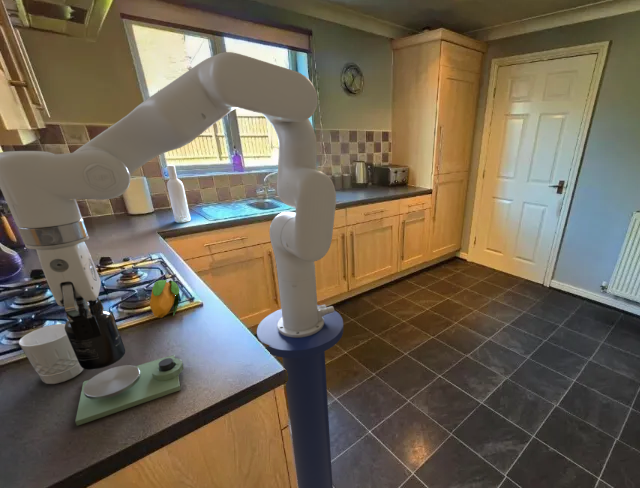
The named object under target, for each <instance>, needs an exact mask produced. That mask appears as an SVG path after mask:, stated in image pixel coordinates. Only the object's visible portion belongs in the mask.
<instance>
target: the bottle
mask: <svg viewBox="0 0 640 488" xmlns="http://www.w3.org/2000/svg"><path fill="white" fill-rule="evenodd" d="M166 170H167V173H168V178H169V179H168V181H167V182H166V188H167V189H166V190H167V193H168V196H169V201H170V206H171V209H172V214H173V219H174V222H175V223H182V224H183V223H188V222H190V221H191V220H192V219H191V214H190V210H189V205H188V199H187V196H186V190H185V186H184V184H183V181H181V179H179V177H178V174H177V169H176V166H175V165H174V164H167V165H166Z"/></svg>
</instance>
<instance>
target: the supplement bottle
mask: <svg viewBox="0 0 640 488" xmlns="http://www.w3.org/2000/svg"><path fill="white" fill-rule="evenodd" d="M98 298H99V297H98ZM98 298H97V299H96V300H95V301H92V300H89V301H88V302H89V306H90V310H91V314H92V315H95V318H96V320H97V323H98V326H99V328H100V331H101V336H99V337H96V338H92V339H87V340H83V341H77V339H76V337H75V335H74V332H73V330H72V327H71V325H70V323H69V320H68V316H67V312H66V311H65V310H64V311H65V316H66V318H67V321H66V322H65V323H64V324H65V327H64V329H65V332H66V334H67V337H68V339H69V341H70V344H71V346H72V348H73V351H74V353H75V355H76V358H77V360H78V362H79V364H80V366H81V367H82V368H84V369H83V370H89V371H94V370H100V369H104V368H107V367H110V366H112V365H113V364H115V363H117V362H118V361H120V360H122V358H123V357H124V356H125V355H126V348H125V344H124V343H123V342H124V341H123V339H122V337H121V333H120V329H119V328H118V325H117V322H116V319H115V317H114V314H112V312H110V311H108V310H105V309H104V306H103V304H102V301H101V300H100V298H99V299H98ZM82 300H83V299H81V300H78V301H82ZM78 307H79V308H82V309H83V310H84V311H85V309H84V305H83V304H82V305H78Z"/></svg>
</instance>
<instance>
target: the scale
mask: <svg viewBox="0 0 640 488" xmlns="http://www.w3.org/2000/svg"><path fill="white" fill-rule="evenodd" d="M167 358H171V359H173V362H174V365H175V366H174V368H173V369H171V370H169V371H166V372H162V371H160V368H159V362H160V361H162V360H163V359H167ZM134 366H135V367H137V368H138V369H139V370H140V373H141V376H140V379H139V380H138V382H137V383H136V384H135V385H134V386H132V387H131V388H130V389H128V390H126V391H125V392H123V393H121V394H118V395H116V396H113V397H110V398H106V399H100V400H93V399H89V398H87V397H86V396H85V395H84V392H83V388H84V386H85V384H86V383H87V382H88V381H89V380H90V379H88V380H84V381H83V383H82V387H81V392H80V396H79V402H78V407H77V412H76V417H75V420H74V421H75V424H76V426H81V425H84V424H87V423H90V422H92V421H96V420H98V419H102V418H105V417H107V416H110V415H113V414H116V413H118V412H121V411H124V410H127V409H130V408H133V407H135V406H138V405H142V404H144V403H147V402H150V401H153V400H156V399H159V398H162V397H164V396H168V395H170V394H173V393H176V392H178V391H181V390H182V389H181V382H180V378H179V375H180V374H181V373H182V372H183V371H184V363H183V360H182V359H180V358H177V357H176V355H175V354H172V355H169V356H165V357H162V358H158V359H155V360H151V361H147V362H145V363H141V364H139V365H134Z"/></svg>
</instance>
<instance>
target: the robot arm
mask: <svg viewBox="0 0 640 488" xmlns="http://www.w3.org/2000/svg"><path fill="white" fill-rule="evenodd" d="M318 99H319V98H318V92H317V89H316V88H315V85H314V84H313V83H312V81H311V80H310V79H309V78H308V77H307V76H305V75H304V74H302V73H301V72H299V71H296V70H293V69H290V68H287V67H283V66H280V65H278V64H277V65H276V64H273V63H270V62H267V61H264V60H261V59H257V58H255V57H252V56H248V55H245V54H241V53H237V52H233V51H224V52H220V53H217V54H214V55H213V56H210V57H208V58H206V59H203V60H202V61H200V62H199V63H197V64H196V65H195V66H193V67H192V68H190V69H189V70H187V71H185V72H184V73H183V74H182V75H180V76H179V77H177V78H176V79H174V80H173V81H171V82H170V83H169V84H167V85H166V86H164V87H162V88H161V89H159V90H158V91H157V92H155V93H154V94H152V95H150V96H149V97H148V98H146V99H145V100H143V101H142V102H140V104H138V105H137V106H135V108H134V109H132V110H130V112H128V114H126V115H125V116H124V117H122V118H121V119H120V120H117V122H115V123H114V124H112V125H111V126H109V127H108V128H105V130H103V131H102V132H101V133H99V134H97V135H96V136H95V137H93V138H92V139H90V140H89V141H88V142H85V143H84V144H82V145H81V146H80V147H78V148H77V149H76V150H75V151H73V152H70V153H69V152H68V153H53V152H50V151H43V150H11V151H1V152H0V190H1V191H0V192H1V193H2V196H3V197H4V198H3V199H4V201H5V203H6V204H7V207H8V209H9V211H10V213H11V216H12V218H13V220H14V223H15V225H16V227H17V230H18V232H19V235H20V238H21V239H22V242H23V244H24V246H25V248H26V249H28V250H35V252H36V254H37V258H38V261H39V264H40V266H41V269H42V272H43V274H44V277H45V279H46V282H47V285H48V288H49V290H50V293H51V294H52V296H53V299H54V301H55V302H56V304H57V305H58V306H60V307H61V308H64V311H66V312H67V314H66V315H67V316H68V318H67V321H68V320H69V323H70V325H71V327H72V330H73V332H74V335H75V337H76V339H77V341H83V340H87V339H92V338H96V337H99V336H101V331H100V328H99V326H98V323H97V320H96V318H95V315H92V314H91V310H90V306H89V302H88V301H89V300H92V301H95V300H96V299H97V298H98V299H99V300H100V297H99V295H100V291H101V287H102V286H101V285H102V281H101V278H100V275H99V273H98V270H97V267H96V264H95V263H94V260H93V258H92V256H91V252H90V250H89V248H88V246H87V244H86V241H88V240H89V239H90V236H89V234H88V231H87V227H86V225H85V222H84V218H83V216H82V213H81V211H80V206H79V204H78V201H77V200H96V201H97V200H99V201H100V200H102V201H103V200H111V199H116V198H118V197H120V196H121V197H122V195H123V194H125V193H126V192H127V191H128V189H129V188H130V185H131V175H132V174H133V173H135V172H136V171H137V170H139V169H140V168H142V167H143V166H145V165H146V164H147V163H149V162H150V161H152V160H154V159H155V158H157V157H159V156H161V155H163V154H165V153H168V152H171V151H175V150H179V149H181V148H183V147H185V146H186V145H189V144H190V143H192V142H193V141H194V140H196V139H197V138H198V137H199V136H200V135H202V134H203V133H204V132H206V131H207V130H208V129H210V128H211V127H212V126H213V125H215V124H216V123H217V122H219V121H220V120H222V119H224V117H225V116H227V115H228V114H230V113H231V112H232V111H234V110H235V109H237V110H238V109H241V110H246V111H249V112H252V113H253V112H254V113H258V114H261V115H263V117H265V118H266V119H267V121H268V122H269V123H270V125H271V126H272V128H273V129H274V132H275V133H276V137H277V142H278V159H277V160H278V161H277V178H276V180H277V181H276V195H277V196H278V198H279V200H280V201H281V202H282V203H283V204H285V205H287V206H289V207H291V208H294V209H295V211H283V212H281V213H279V214H276V216H274V218H273V219H272V221H271V223H270V226H269V239H270V243H271V248H272V251H273V255H274V260H275V265H276V266H275V267H276V273H277V284H278V291H279V300H280V309H281V310H282V318H281V319H280V320H279V321H278V323H277V327H278V331H279V332H280V333H281V334H283V335H284V336H287V337H293V338H300V337H307V336H310V335H313V334H315V333H317V332H318V331H320V330H321V329H322V327H323V326H324V318H323V317H324V316H325V315H326V314H330V313H333V312H334V310H335V307H334V306H333V305H330V306H327V305H326V304H321V306H317V305H318V295H317V294H318V293H317V292H318V291H317V279H316V278H317V277H316V263H315V262H318V261H320V260H321V259H323V258H324V257H325V256H326V255H327V253H328V252H329V250H330V248H331V244H332V240H333V233H334V226H335V225H334V224H335V214H336V207H337V206H336V205H337V193H336V187H335V185H334V182H333V180H332V179H331V178H330V176H329V175H327V174H326V173H325V172H324V171H321V170H318V169H317V164H318V163H317V159H318V157H317V156H318V142H317V136H316V133H315V129H314V127H313V124H312V122H311V121H310V118H311V117H312V116H313V115H314V113H315V112H316V110H317V107H318V102H319V101H318ZM81 299H83V300H82V301H78V300H81ZM82 304H83V305H84V309H85V311H84V310H83V309H82V308H79V307H78V305H82ZM326 307H327V308H326ZM66 312H65V313H66ZM67 316H66V317H67Z"/></svg>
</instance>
